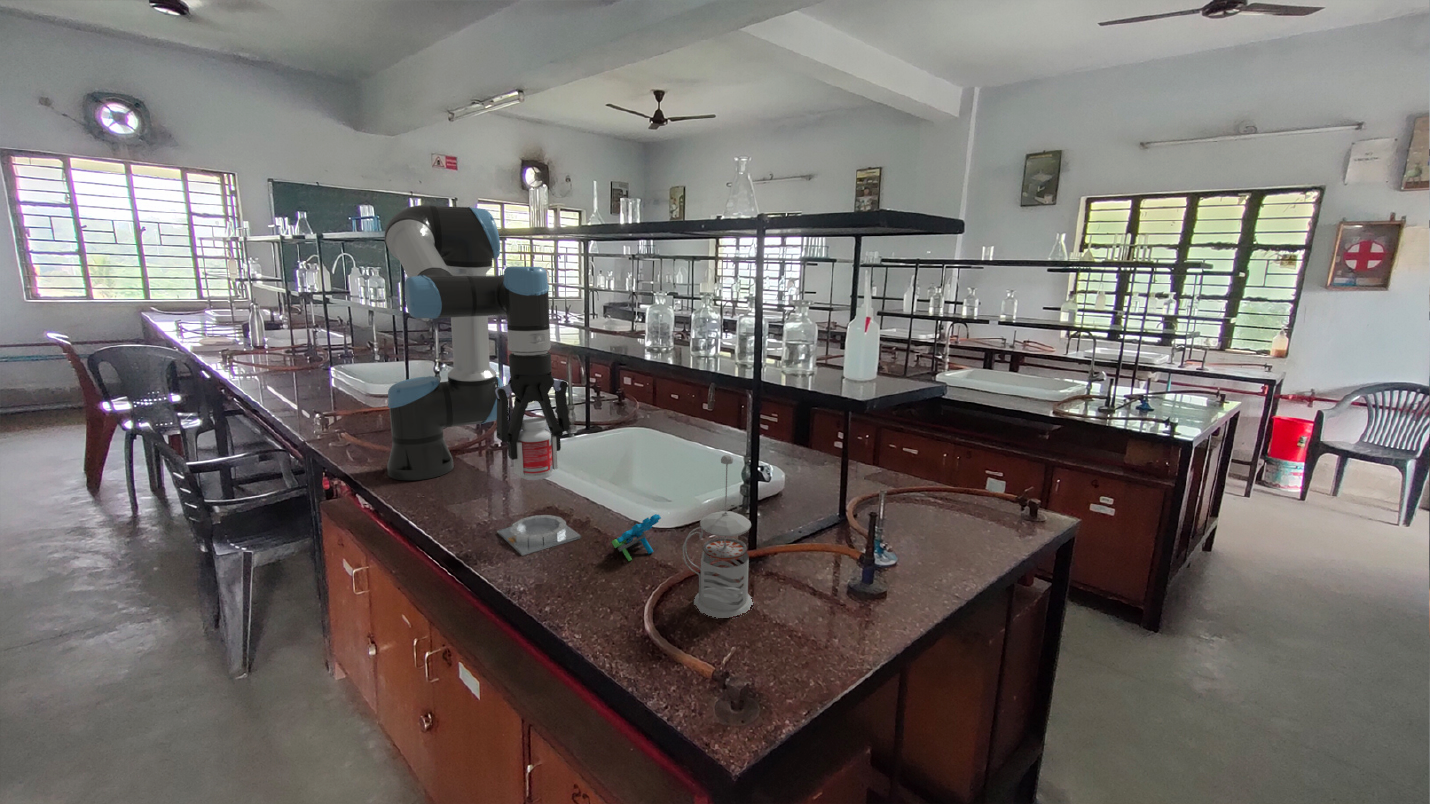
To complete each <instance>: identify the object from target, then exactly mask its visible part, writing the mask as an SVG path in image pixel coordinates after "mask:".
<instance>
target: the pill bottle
mask: <svg viewBox="0 0 1430 804" xmlns="http://www.w3.org/2000/svg"><path fill="white" fill-rule="evenodd" d="M547 427H548V424H547V422H546V419H545V417H536V416H535V417H526V418H523V421H522V425H521V429H520V433H519V437H518V441H519V442H521V443H522V455H523V473H524V476H522V477H521V478H522V479H524V480H528V481H538V480H543V479H547V478H549V477H551V476H552V474H553V470H554V469H553V465H552V444H551V432H550V430H549V429H547Z"/></svg>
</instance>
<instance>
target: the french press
mask: <svg viewBox="0 0 1430 804" xmlns="http://www.w3.org/2000/svg"><path fill="white" fill-rule="evenodd" d="M720 462H721V464H723V465H726V466H725V498H724V499H725V502H724V504H725V506H724V507H725V508H724V510H722V511H717V512H712V513H709V514H707V515H705V516H703V517H702V519H700V521H699V523H700V525H699V526H698V527H696V528H694V529H692V530H691V531H690V532H688V535H687V536H686V538H685V540H684V543H683V545H682V558H683V562H684V564H685V565H686V567H688V568H689V570H690V571H692V572H693V573H694V574H696V575H698V592H697V594H696V595H695V597H694V598H695V599H694V598H693V606H694V605H696V606H697V608H698V609H699V611H700V612H699V611H698V612H699V613H700V614H703V613H705V614H706V615H708V616H707V617H709V616H712V617H711V618H714V617H716V618H715V619H718V618H729V617H733V616H737V615H740V614H741V615H742V613H746V612H747V611H748V610H750V607H751V605H753V603H754V601H753V602H752V599H751V598H753V597H752V596H751V595H750V594H749V592H748V591H749V566H750V565H749V564H750V563H749V562H750V560H749V559H750V558H749V557H750V556H749V553H748V552H747V551H748V545H747V544H746V543H745V542H744V541H742V540H740V539H737V538H733V537H737V536H741V535H743V534H745V533H747V532H748V531H749V530H750V529H751V527H752V523H751V520H749V519H748V517H746V516H744V515H743V514H740V513H737V512H735V511H731V510H730V511H728V510H727V506H728V505H727V504H728V503H727V502H728V466H729V465H731V464H733V463H734V457H732V456H731V455H730V454H724V455H723V456H722V457H721V458H720ZM699 529H701V532H700V531H697V530H699ZM694 531H695V532H694ZM704 531H705V532H706V533H707V534H710V535H712V536H713V535H714V536H719V537H715V538H710V539H709V540H706V541H705V542H704V543H703V544H702V552H701V558H700V566H698V565H697V564H695V563H693V561H692V560H691V559H690V557H689V555H688V551H687V548H688V547H687V543H688V540H689V539H690V538H691V537H692V536H693V535H695V534H699V539H700V540H702V538H703V536H704ZM685 556H686V557H685ZM686 558H687V560H688V562H689V563H690V564H691V565H692V566H694V567H695V568H696V569H698V570H700V573H699V572H698V571H696V570H694V569H692V568H691V566H690V565H689V564H688V562H687V560H686ZM736 559H738V560H739V561H741V562H742V563H740V562H739V561H737V560H736ZM716 560H721V561H717V562H714V561H716ZM724 560H729V561H731V562H732V563H734V564H735V565H736V566H735V565H733V564H731V563H730V562H728V561H724ZM712 562H714V563H712ZM719 566H720V567H719ZM721 566H727V567H721ZM715 574H718V575H717V576H714V575H715ZM742 578H743V579H742ZM736 580H737V581H738V582H737V581H736ZM697 608H696V609H697ZM705 614H704V615H705ZM746 614H747V613H746ZM706 615H705V616H706Z"/></svg>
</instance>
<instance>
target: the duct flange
mask: <svg viewBox="0 0 1430 804" xmlns="http://www.w3.org/2000/svg"><path fill="white" fill-rule="evenodd" d="M497 534H498V535H499V536H500V537H502V539H504V540H505V541H506V542H507V543H508V545H510V546H511V547H512V548H513V549H514V551H516V552H517V553H518V554H519V555H521V557H522V556H526V555H529V554H532V553H537V552H540V551H542V550H546V549H549V548H553V547H557V546H561V545H563V544H566V543H570V542H574V541H576V540H580V539H582V535H581V534H580V533H578V532H577V531H575V530H574V529H573V528H572V527H570V526H569V525H567V521H566V520H565V519H563V517H561V516H557V515H550V514H541V515H537V514H536V515H531V516H527V517H524V518H520V519H518V520H517V521H515V522H514V523H512V525H511V526H509V527H505V528H501V529H498V530H497Z"/></svg>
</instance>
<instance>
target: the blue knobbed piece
mask: <svg viewBox="0 0 1430 804" xmlns="http://www.w3.org/2000/svg"><path fill="white" fill-rule="evenodd" d="M661 519H662V517H661V515H660V514H657V513H655V514H653V515H652V516H650V517H646V518H644V519H643V520H642V522H641V523H636V524H634V525H632V526H631V529H629V530H626V531H624V532H623V533H622V534H621V536H619V537H617V538H615V539H612V541H611V543H612V545H613V547H614V548H615V549H616V548H617V549H618V552H619V553H621V552H622V553H623V554H624V556H625V558H626V559H627V561H628V562H630V561H632V560H633V558H632V556H631V555H630V553H629V552H628V550H627V549H628V548H630V547H632V546H634V545H636V544H637V543H639V542H641V544H642V545H643V547H644V548H645V550H646V552H647V554H648V555H651V554H653V553H654V550H653V548H652V546H651V545H650V544H649V542H648V540H647V538H646V537H647V535H646V533H645V532H647V531H649V530H651V529H652V528H653V526H654V525H656V524H657V523H659V521H660V520H661ZM635 538H636V539H635Z"/></svg>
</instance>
